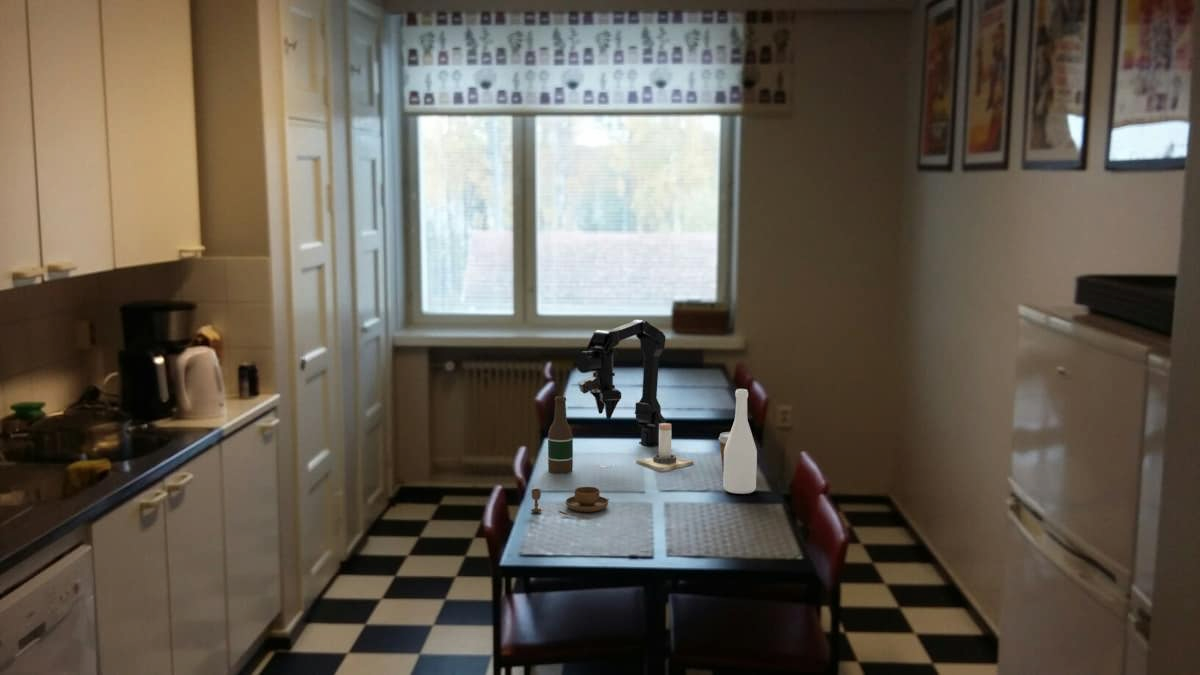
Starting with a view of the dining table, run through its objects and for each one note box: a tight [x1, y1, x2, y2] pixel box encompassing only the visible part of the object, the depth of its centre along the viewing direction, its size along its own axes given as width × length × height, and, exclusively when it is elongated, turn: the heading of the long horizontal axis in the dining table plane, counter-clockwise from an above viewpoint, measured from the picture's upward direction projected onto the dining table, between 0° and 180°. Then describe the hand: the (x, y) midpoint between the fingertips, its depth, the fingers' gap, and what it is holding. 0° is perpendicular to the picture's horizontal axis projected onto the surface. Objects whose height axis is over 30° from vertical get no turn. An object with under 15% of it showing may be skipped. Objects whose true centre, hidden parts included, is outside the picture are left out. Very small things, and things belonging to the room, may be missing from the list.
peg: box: [658, 422, 672, 459], centre depth 324 cm, size 4×4×12 cm
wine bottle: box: [722, 388, 758, 495], centre depth 295 cm, size 10×10×30 cm
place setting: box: [530, 486, 610, 517], centre depth 281 cm, size 18×20×6 cm
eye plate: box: [635, 453, 694, 472], centre depth 325 cm, size 14×12×3 cm
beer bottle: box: [547, 395, 574, 475], centre depth 315 cm, size 8×8×24 cm
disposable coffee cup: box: [718, 431, 731, 473], centre depth 316 cm, size 10×10×12 cm
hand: (604, 416), depth 329 cm, fingers open, 9 cm apart
